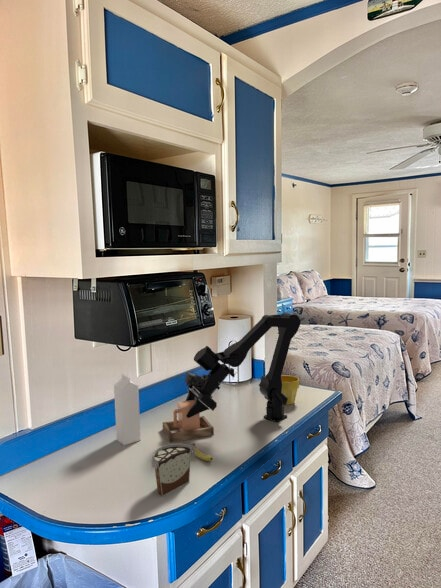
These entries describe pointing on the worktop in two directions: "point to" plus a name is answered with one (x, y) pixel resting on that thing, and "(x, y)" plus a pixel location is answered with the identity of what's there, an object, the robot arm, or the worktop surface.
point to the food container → (171, 467)
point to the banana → (201, 455)
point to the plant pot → (289, 387)
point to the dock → (190, 433)
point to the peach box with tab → (184, 421)
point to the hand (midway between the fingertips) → (184, 413)
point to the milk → (127, 411)
